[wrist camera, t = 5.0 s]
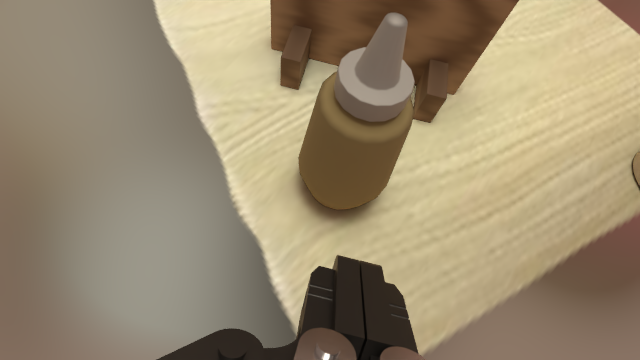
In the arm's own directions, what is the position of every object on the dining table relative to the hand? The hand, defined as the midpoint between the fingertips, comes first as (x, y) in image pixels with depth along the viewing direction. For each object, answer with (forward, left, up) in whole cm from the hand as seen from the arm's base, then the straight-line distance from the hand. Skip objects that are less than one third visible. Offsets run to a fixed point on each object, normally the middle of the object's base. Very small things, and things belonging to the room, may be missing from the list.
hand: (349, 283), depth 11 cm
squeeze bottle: (0, -13, -17) cm, 22 cm away
